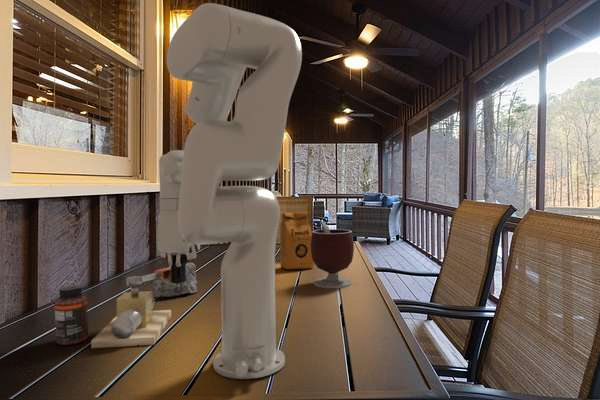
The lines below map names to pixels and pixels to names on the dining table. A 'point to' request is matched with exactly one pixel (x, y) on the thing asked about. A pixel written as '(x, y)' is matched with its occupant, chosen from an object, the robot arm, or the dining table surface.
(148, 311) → the valve body
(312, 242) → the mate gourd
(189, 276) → the mineral rock
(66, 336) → the supplement bottle
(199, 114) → the robot arm
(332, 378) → the dining table surface
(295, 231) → the coffee package
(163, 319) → the board
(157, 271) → the lever
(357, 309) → the dining table surface
